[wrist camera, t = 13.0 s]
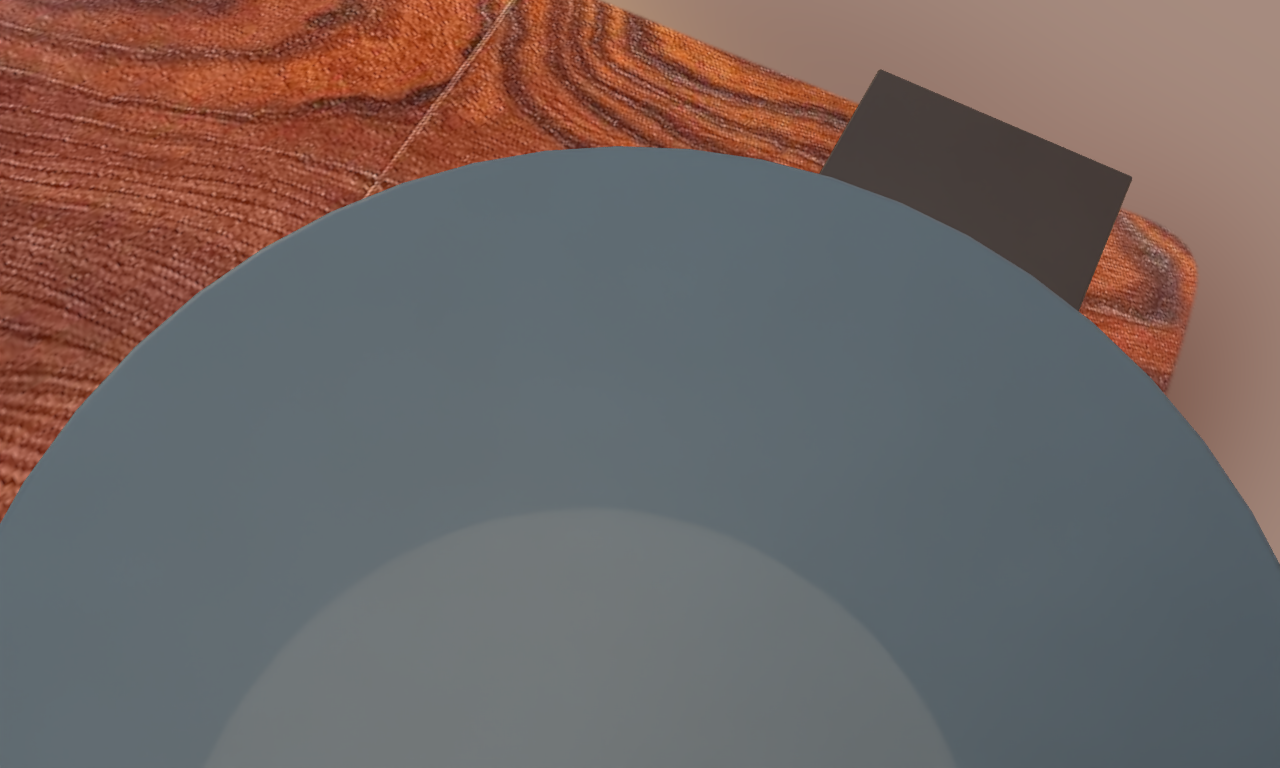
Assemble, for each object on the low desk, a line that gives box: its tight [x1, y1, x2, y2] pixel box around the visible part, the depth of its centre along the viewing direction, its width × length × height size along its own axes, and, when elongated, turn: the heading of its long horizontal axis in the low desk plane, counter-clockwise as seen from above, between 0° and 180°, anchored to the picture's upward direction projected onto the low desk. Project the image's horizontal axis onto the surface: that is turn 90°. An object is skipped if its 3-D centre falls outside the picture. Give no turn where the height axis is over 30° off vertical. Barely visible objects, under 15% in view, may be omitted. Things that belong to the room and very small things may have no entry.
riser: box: [819, 70, 1132, 312], centre depth 44 cm, size 10×10×8 cm
